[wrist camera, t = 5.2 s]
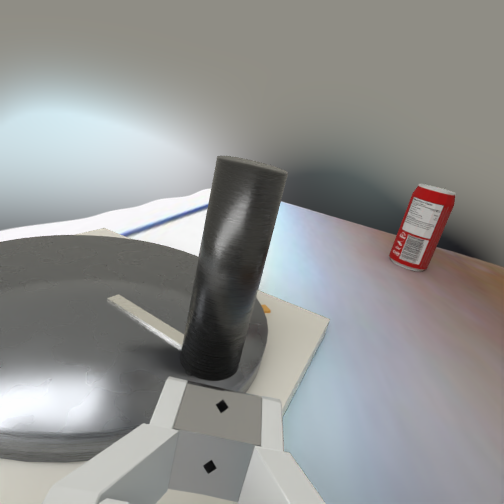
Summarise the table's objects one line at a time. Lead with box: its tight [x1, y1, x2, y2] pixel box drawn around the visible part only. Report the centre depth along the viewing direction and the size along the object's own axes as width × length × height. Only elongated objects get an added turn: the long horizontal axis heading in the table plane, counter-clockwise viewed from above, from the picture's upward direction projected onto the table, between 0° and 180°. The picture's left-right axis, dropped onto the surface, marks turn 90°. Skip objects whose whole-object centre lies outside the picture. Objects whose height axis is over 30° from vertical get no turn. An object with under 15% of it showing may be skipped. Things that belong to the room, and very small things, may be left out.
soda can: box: [389, 184, 456, 271], centre depth 53 cm, size 6×6×12 cm
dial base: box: [0, 228, 330, 504], centre depth 23 cm, size 24×24×2 cm
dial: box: [0, 156, 288, 463], centre depth 21 cm, size 20×20×12 cm
